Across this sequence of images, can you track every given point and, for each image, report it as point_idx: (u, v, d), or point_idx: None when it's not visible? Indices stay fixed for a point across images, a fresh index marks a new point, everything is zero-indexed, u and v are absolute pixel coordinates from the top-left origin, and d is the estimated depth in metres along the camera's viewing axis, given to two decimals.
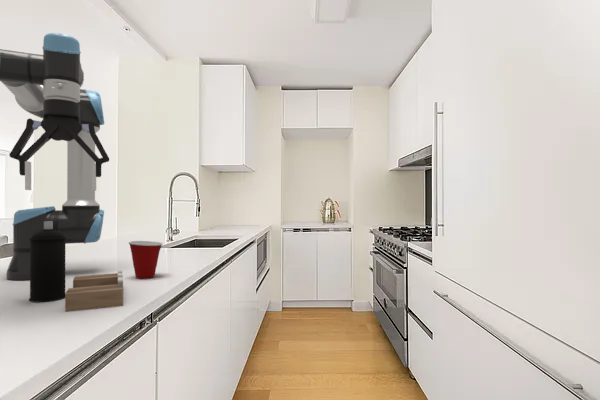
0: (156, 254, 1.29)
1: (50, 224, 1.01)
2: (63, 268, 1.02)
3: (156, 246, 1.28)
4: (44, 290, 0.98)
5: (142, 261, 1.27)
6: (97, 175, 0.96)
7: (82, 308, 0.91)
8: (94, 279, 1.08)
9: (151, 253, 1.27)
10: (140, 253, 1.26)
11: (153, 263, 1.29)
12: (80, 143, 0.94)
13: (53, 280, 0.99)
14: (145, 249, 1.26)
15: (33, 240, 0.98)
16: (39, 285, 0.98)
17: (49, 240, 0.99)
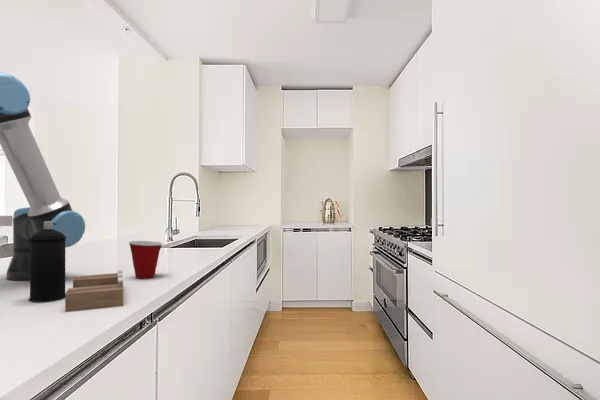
0: (156, 254, 1.29)
1: (50, 224, 1.01)
2: (63, 268, 1.02)
3: (156, 246, 1.28)
4: (44, 290, 0.98)
5: (142, 261, 1.27)
6: None
7: (82, 308, 0.91)
8: (94, 279, 1.08)
9: (151, 253, 1.27)
10: (140, 253, 1.26)
11: (153, 263, 1.29)
12: None
13: (53, 280, 0.99)
14: (145, 249, 1.26)
15: (33, 240, 0.98)
16: (39, 285, 0.98)
17: (49, 240, 0.99)
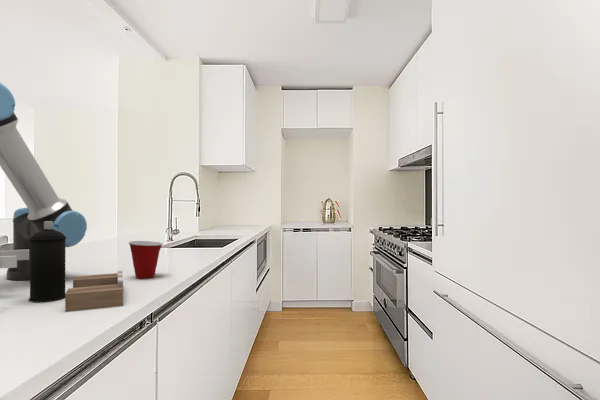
0: (156, 254, 1.29)
1: (50, 224, 1.01)
2: (63, 268, 1.02)
3: (156, 246, 1.28)
4: (44, 290, 0.98)
5: (142, 261, 1.27)
6: None
7: (82, 308, 0.91)
8: (94, 279, 1.08)
9: (151, 253, 1.27)
10: (140, 253, 1.26)
11: (153, 263, 1.29)
12: None
13: (53, 280, 0.99)
14: (145, 249, 1.26)
15: (33, 240, 0.98)
16: (39, 285, 0.98)
17: (49, 240, 0.99)
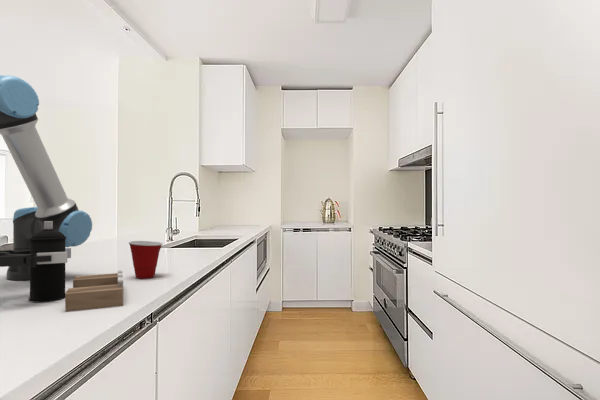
0: (156, 254, 1.29)
1: (50, 224, 1.01)
2: (63, 268, 1.02)
3: (156, 246, 1.28)
4: (44, 290, 0.98)
5: (142, 261, 1.27)
6: None
7: (82, 308, 0.91)
8: (94, 279, 1.08)
9: (151, 253, 1.27)
10: (140, 253, 1.26)
11: (153, 263, 1.29)
12: None
13: (53, 280, 0.99)
14: (145, 249, 1.26)
15: (33, 240, 0.98)
16: (39, 285, 0.98)
17: (49, 240, 0.99)
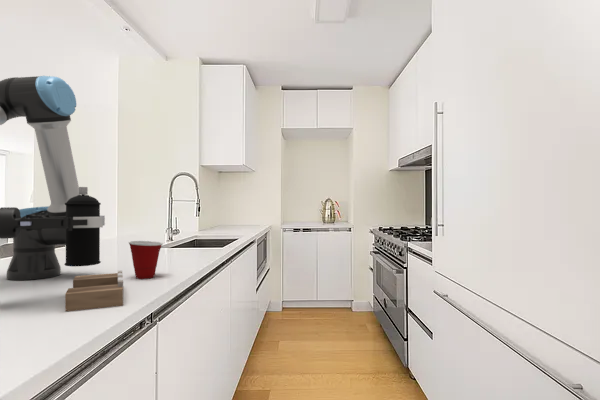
0: (156, 254, 1.29)
1: (85, 190, 1.01)
2: (98, 233, 1.02)
3: (156, 246, 1.28)
4: (80, 254, 0.98)
5: (142, 261, 1.27)
6: None
7: (82, 308, 0.91)
8: (94, 279, 1.08)
9: (151, 253, 1.27)
10: (140, 253, 1.26)
11: (153, 263, 1.29)
12: None
13: (88, 245, 0.99)
14: (145, 249, 1.26)
15: (69, 204, 0.98)
16: (75, 249, 0.98)
17: (85, 204, 0.98)
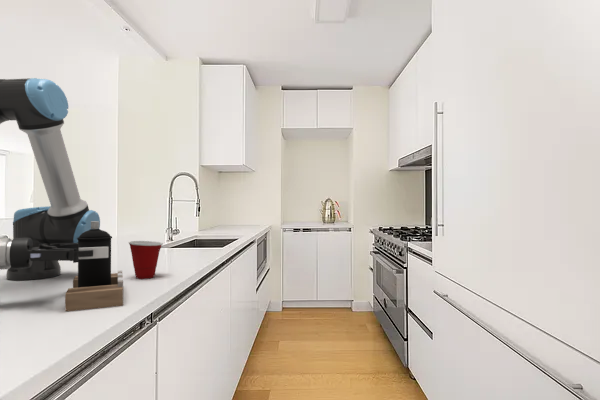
0: (156, 254, 1.29)
1: (97, 224, 1.02)
2: (109, 267, 1.03)
3: (156, 246, 1.28)
4: None
5: (142, 261, 1.27)
6: None
7: (82, 308, 0.91)
8: None
9: (151, 253, 1.27)
10: (140, 253, 1.26)
11: (153, 263, 1.29)
12: None
13: (100, 279, 1.00)
14: (145, 249, 1.26)
15: (82, 240, 0.99)
16: (88, 284, 0.99)
17: (97, 240, 1.00)
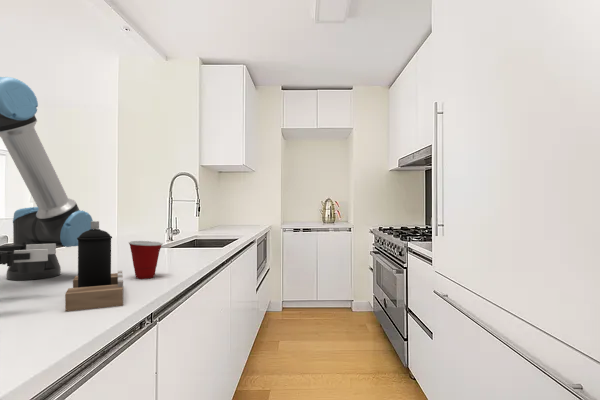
0: (156, 254, 1.29)
1: (97, 224, 1.02)
2: (109, 267, 1.03)
3: (156, 246, 1.28)
4: None
5: (142, 261, 1.27)
6: None
7: (82, 308, 0.91)
8: None
9: (151, 253, 1.27)
10: (140, 253, 1.26)
11: (153, 263, 1.29)
12: None
13: (100, 279, 1.00)
14: (145, 249, 1.26)
15: (82, 240, 0.99)
16: (88, 284, 0.99)
17: (97, 240, 1.00)
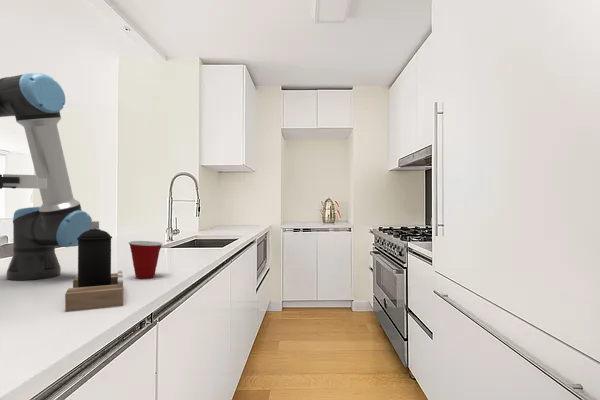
0: (156, 254, 1.29)
1: (97, 224, 1.02)
2: (109, 267, 1.03)
3: (156, 246, 1.28)
4: None
5: (142, 261, 1.27)
6: (17, 183, 0.89)
7: (82, 308, 0.91)
8: None
9: (151, 253, 1.27)
10: (140, 253, 1.26)
11: (153, 263, 1.29)
12: None
13: (100, 279, 1.00)
14: (145, 249, 1.26)
15: (82, 240, 0.99)
16: (88, 284, 0.99)
17: (97, 240, 1.00)
